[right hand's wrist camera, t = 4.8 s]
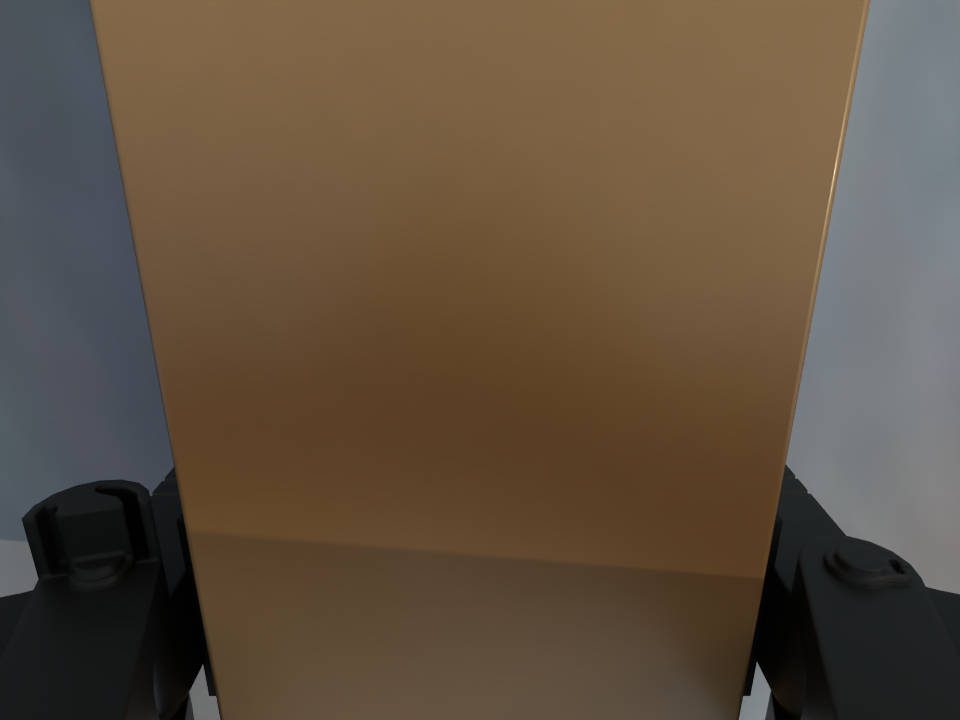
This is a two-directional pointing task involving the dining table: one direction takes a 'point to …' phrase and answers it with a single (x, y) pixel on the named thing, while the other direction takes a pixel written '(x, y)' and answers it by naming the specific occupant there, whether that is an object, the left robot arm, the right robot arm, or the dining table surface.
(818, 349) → the dining table surface
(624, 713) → the beam
